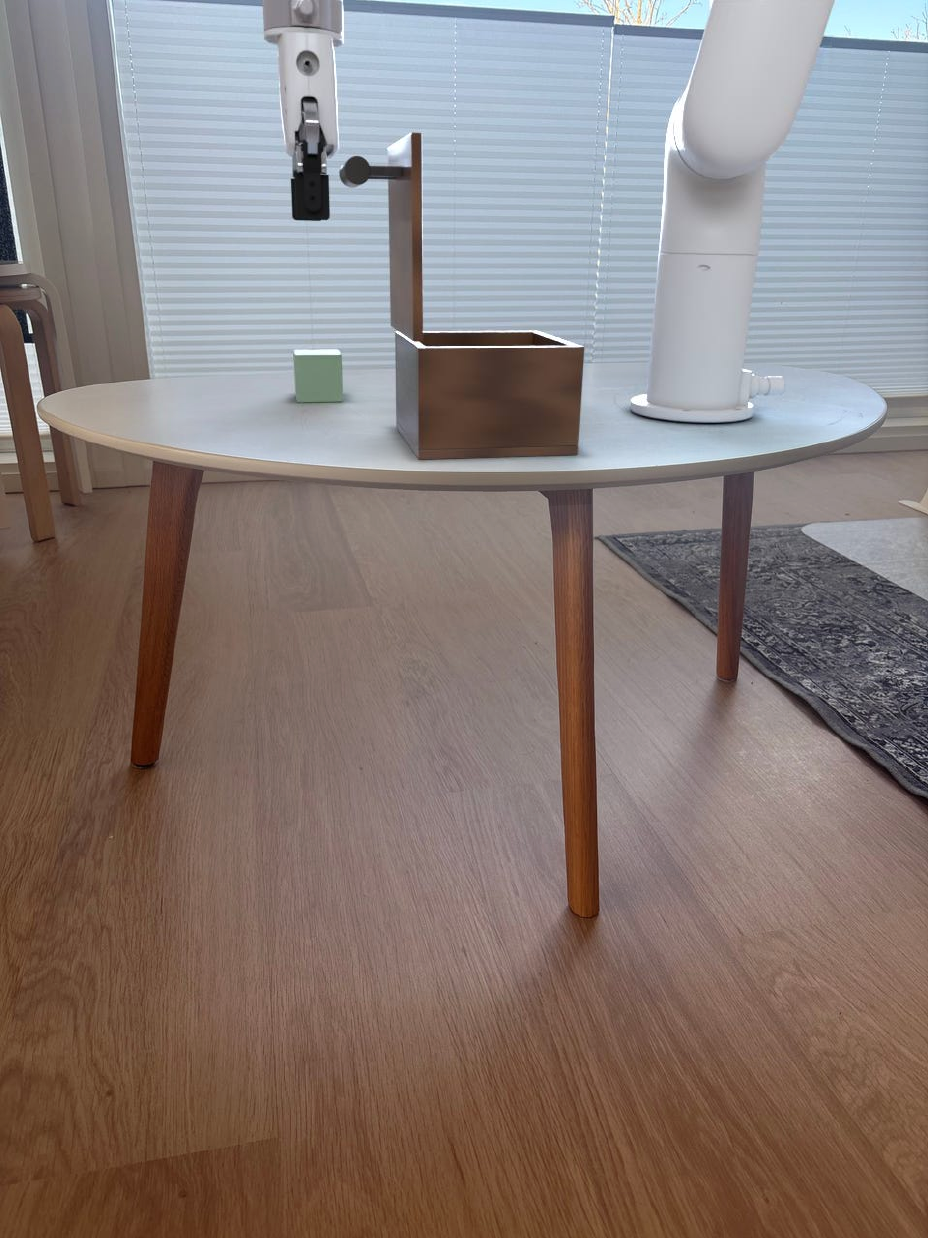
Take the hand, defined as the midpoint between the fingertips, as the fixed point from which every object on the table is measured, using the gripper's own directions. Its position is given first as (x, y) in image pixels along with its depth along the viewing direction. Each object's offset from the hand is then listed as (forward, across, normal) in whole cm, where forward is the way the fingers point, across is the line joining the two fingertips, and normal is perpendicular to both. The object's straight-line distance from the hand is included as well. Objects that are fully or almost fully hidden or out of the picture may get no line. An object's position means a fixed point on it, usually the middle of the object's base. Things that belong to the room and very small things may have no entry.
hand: (310, 219), depth 95 cm
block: (+18, +2, 0) cm, 18 cm away
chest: (+18, -23, -13) cm, 32 cm away
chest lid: (+2, -23, -7) cm, 24 cm away
